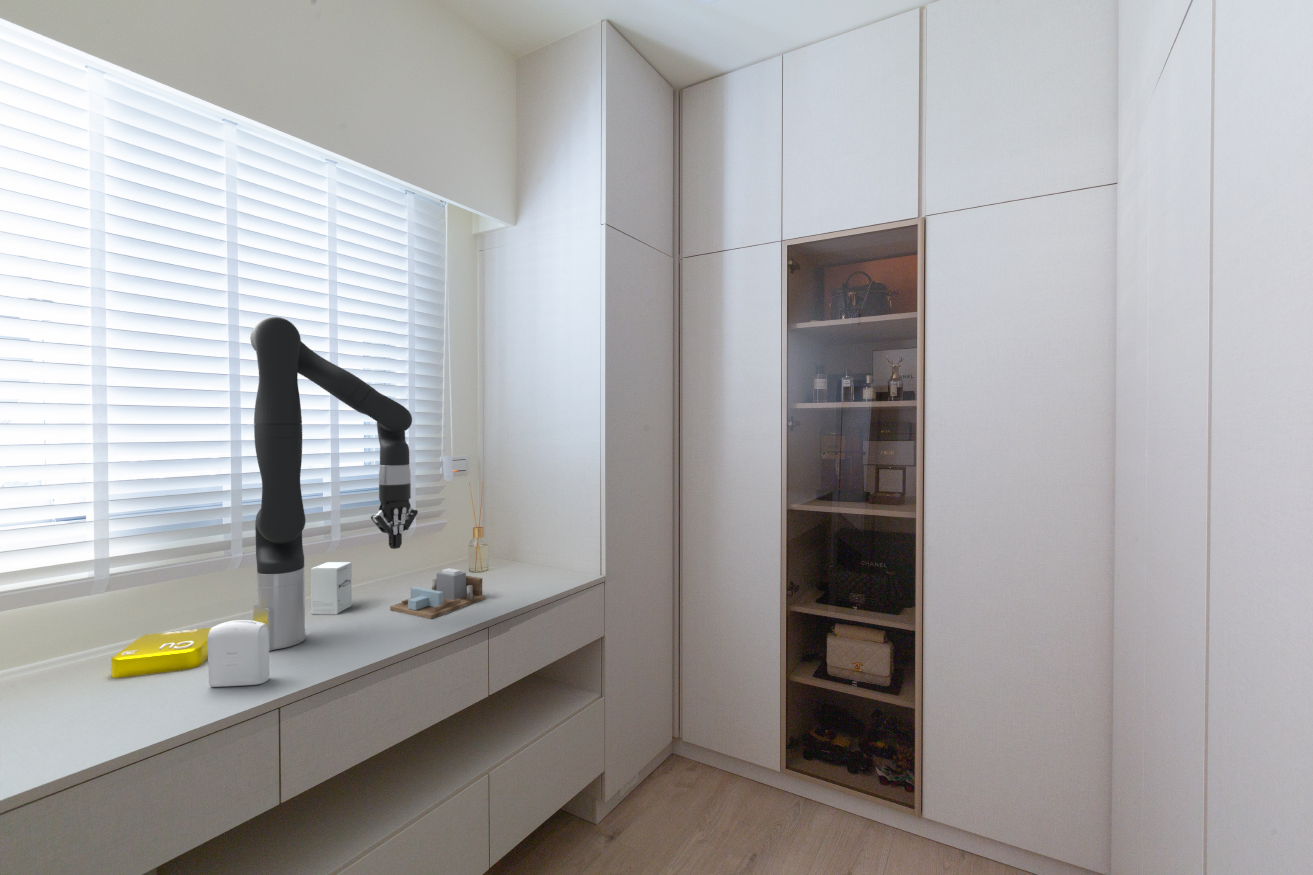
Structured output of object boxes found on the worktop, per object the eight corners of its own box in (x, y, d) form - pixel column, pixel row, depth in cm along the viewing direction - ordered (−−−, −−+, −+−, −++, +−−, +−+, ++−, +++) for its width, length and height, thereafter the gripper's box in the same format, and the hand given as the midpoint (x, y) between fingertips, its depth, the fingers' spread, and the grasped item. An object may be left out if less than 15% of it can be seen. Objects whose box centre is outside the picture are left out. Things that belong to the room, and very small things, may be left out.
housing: (431, 618, 149) (431, 596, 149) (390, 609, 156) (390, 588, 156) (484, 598, 166) (484, 578, 166) (445, 591, 173) (445, 571, 173)
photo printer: (204, 689, 109) (203, 625, 109) (218, 679, 113) (218, 617, 113) (260, 686, 110) (259, 623, 110) (273, 677, 114) (272, 616, 114)
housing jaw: (426, 612, 150) (426, 597, 150) (397, 606, 155) (397, 591, 155) (443, 606, 156) (443, 591, 155) (415, 600, 161) (415, 586, 160)
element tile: (223, 643, 133) (223, 623, 132) (198, 670, 119) (197, 647, 118) (142, 653, 127) (142, 631, 127) (106, 681, 113) (106, 657, 113)
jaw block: (454, 600, 161) (453, 573, 161) (436, 597, 165) (436, 570, 164) (465, 596, 165) (465, 569, 165) (448, 592, 169) (448, 566, 168)
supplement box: (337, 614, 152) (337, 568, 152) (310, 614, 152) (309, 567, 152) (352, 606, 159) (352, 561, 159) (326, 605, 159) (326, 561, 159)
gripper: (382, 485, 140) (382, 554, 140) (425, 480, 152) (426, 544, 152) (362, 483, 143) (362, 551, 144) (406, 479, 155) (406, 542, 156)
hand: (395, 547), depth 148 cm, fingers closed
